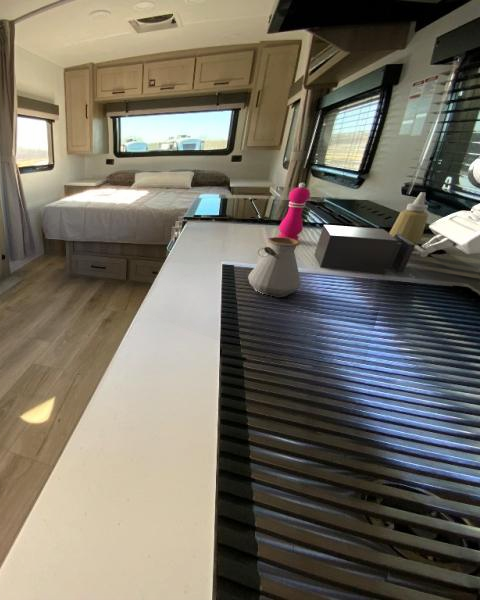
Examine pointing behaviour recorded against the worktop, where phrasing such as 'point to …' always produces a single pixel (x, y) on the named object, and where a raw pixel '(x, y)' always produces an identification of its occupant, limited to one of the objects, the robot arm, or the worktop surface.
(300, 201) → the pepper mill
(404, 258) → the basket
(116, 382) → the worktop surface
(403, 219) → the squeeze bottle
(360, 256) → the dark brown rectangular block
